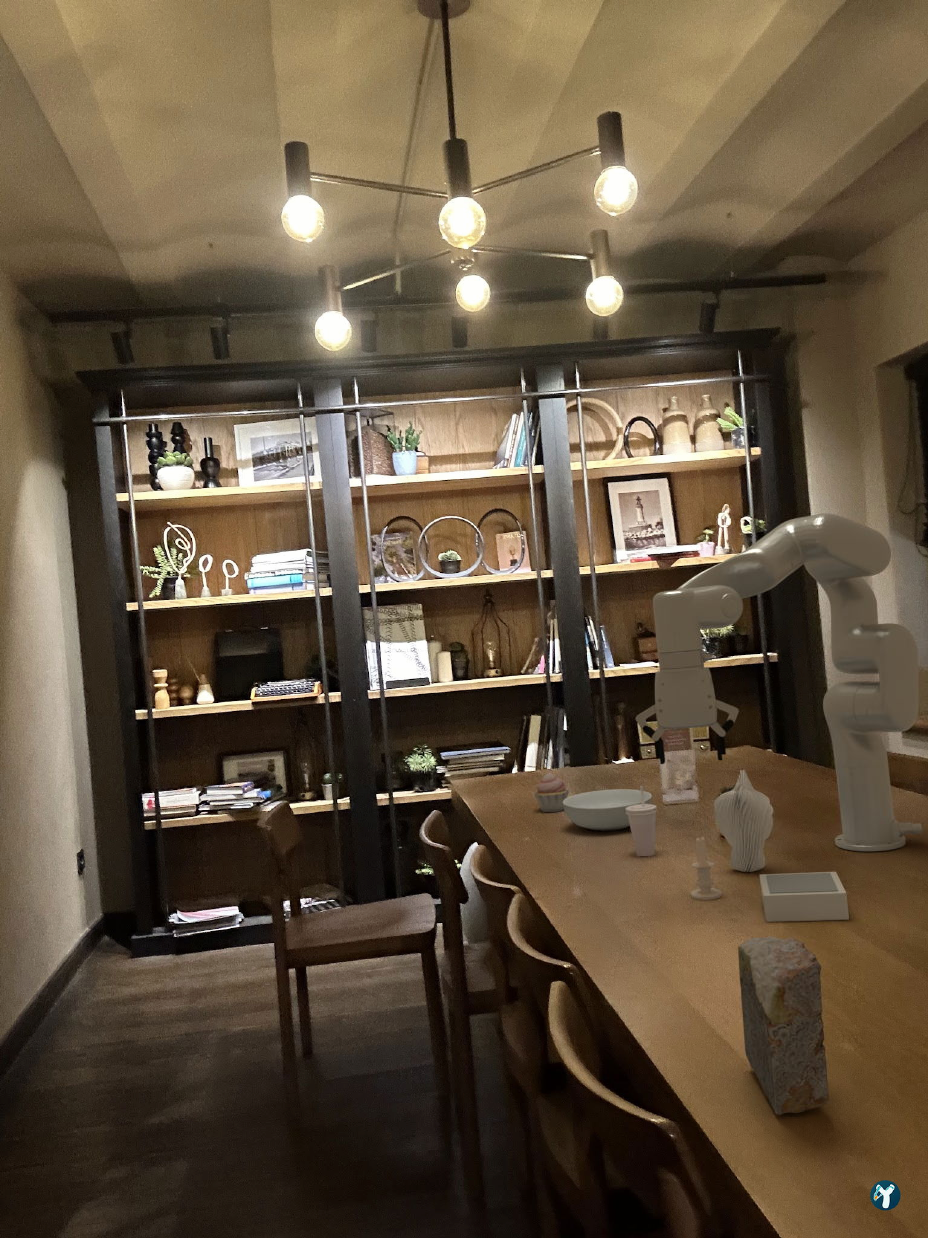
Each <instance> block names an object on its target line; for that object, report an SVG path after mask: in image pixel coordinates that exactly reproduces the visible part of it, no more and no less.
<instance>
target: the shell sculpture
mask: <svg viewBox="0 0 928 1238" xmlns="http://www.w3.org/2000/svg"><path fill="white" fill-rule="evenodd" d="M739 771H740V772H739V773H740V775H738V778H737V781H735V783H736V784H735V785H734V786H733V788H732V790H730V791H725V792H724V793H722V794H720V795H719V796H718V797H716V799H715V801H714V803H713V807H714V810H713V814H714V819H715V820H716V823H717V827H718V829H719V831H720V832H721V834H722V835H723V836H724V838H725V840H726V841H727V843H728V844H729V845H730V846H731V854H730V867H732V868H733V869H734V870H735V871H736V870H737V871H740V872H745V873H749V872H750V873H753V872H755V871H760V870H761V869H763V868H765V866H766V859H765V858H766V857H765V852H764V846H765V843H766V841H765V840H766V839H769V837H770V835H771V832H772V829H773V826H774V818H773V816H772V815H773V814H774V808H773V806H772V805H771V804H770V803H771V802H770V800H771V799H770V798H769V797H768V796H767V795H765V794H764V793H762V792H760V791H758V790H755V789H754V786H753V785H752V783H751V781H750V779H749V777H748V774H747V771H746V770H745V769H743V770H742V769H740V770H739ZM746 871H747V872H746Z"/></svg>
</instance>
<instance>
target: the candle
mask: <svg viewBox="0 0 928 1238" xmlns="http://www.w3.org/2000/svg"><path fill="white" fill-rule="evenodd" d="M695 848H696V859H697V861H696V862H693V863H691V867H693V868H696V871H697V878H698V879H697V880H695V885H696V886H698V887H699V888H698V889H693V890H692V891H690V897H691V898H692V899H695V900H699V901H701V900H702V901H709V900H715V899H718V898H720V897H722V895H723V893H722V890H721V889H719V888H713V887H712V886H713V885H715V880H714V879H712V878H711V877H712V873H711V867H714V866H715V862H712V861H708V853H707V846H706V840H705V837H704V836H699V837H696V838H695Z"/></svg>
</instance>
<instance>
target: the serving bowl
mask: <svg viewBox="0 0 928 1238" xmlns="http://www.w3.org/2000/svg"><path fill="white" fill-rule="evenodd" d="M643 793H644V802H645V804H652V802H653V795H652V794H651V793H650V792H648V791H645V790H643ZM639 804H642V800H641V791H640V790H639V789H632V788H631V789H630V788H629V789H625V788H623V789H620V788H618V789H617V788H616V789H615V788H614V789H603V790H593V791H588V792H587V791H586V792H581V793H578V794H574V795H571V796H567V798H566V799H565V800H564V801H563V806H564V810H563V811H564V812H565V814H566V816H567V817H568V819H569V820H570V821H571V822H572V823H574V824H575V825H576V826H579V827H582V828H584V829H590V830H594V831H598V830H601V831H600V832H608V831H607V830H612V831H618V830H623V829H627V828H628V827H630V823H629V819H628V814H626V808H627V807H629V806H632V805H639ZM652 805H653V804H652ZM605 830H606V831H605Z"/></svg>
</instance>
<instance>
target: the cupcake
mask: <svg viewBox="0 0 928 1238" xmlns="http://www.w3.org/2000/svg"><path fill="white" fill-rule="evenodd" d="M536 790H537V791H536V792H535V793H533V795H534V796H535V799H536V801H537V803H538V804H539V808H540V811H541V812H542V813H547V812H552V813H559V812H562V811H565V810H564V806H563V801H564V800H565V799H566V798H568V797H569V796H568V795H569V793H570V790H568V789H567V786H566V784H565V783H564V781H563V780H562V779H561V778H560V777H556V775H554V774H553V773H552V772H551V771H549V772H548V773H546V774H545V775H544V776H543V777H542V778H541V779H540V782H539V783H538V785H537V786H536Z"/></svg>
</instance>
